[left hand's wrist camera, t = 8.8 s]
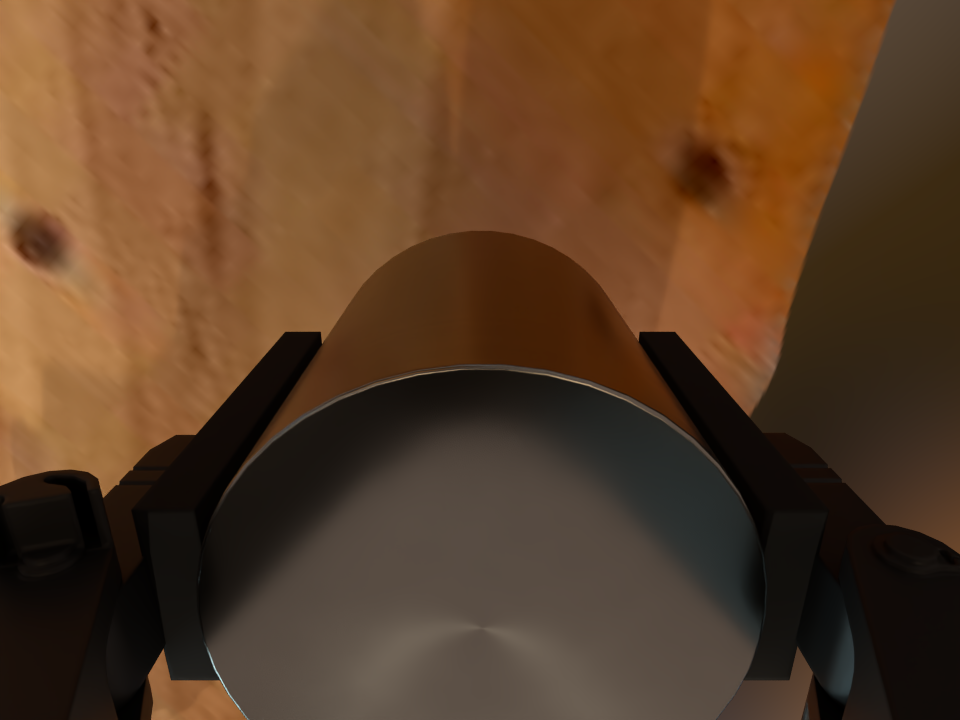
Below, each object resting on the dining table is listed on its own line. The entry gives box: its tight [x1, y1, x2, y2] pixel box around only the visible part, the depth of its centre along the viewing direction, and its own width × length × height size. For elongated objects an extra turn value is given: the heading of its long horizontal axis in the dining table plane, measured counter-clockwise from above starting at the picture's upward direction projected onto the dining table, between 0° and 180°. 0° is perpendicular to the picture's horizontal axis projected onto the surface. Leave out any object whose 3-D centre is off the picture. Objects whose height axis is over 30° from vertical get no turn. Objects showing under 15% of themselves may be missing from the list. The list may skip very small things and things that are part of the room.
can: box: [197, 231, 767, 720], centre depth 11 cm, size 7×7×8 cm
